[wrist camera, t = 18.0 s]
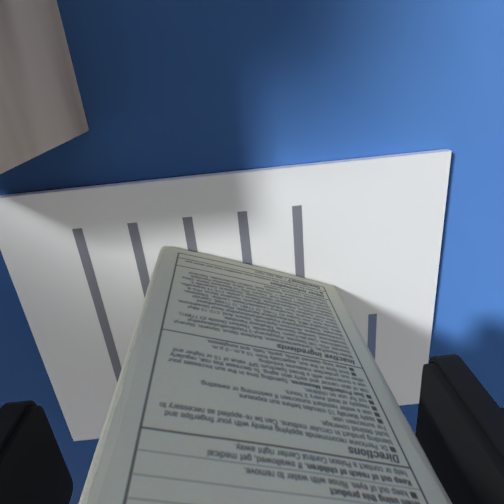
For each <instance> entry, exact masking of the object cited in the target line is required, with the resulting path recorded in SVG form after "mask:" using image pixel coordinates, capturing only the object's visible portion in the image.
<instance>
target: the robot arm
mask: <svg viewBox="0 0 504 504" xmlns="http://www.w3.org/2000/svg"><path fill="white" fill-rule="evenodd" d="M416 437H417V439H418V441H419V443H420V445H421V447H422V448H423V450H424V452H425V454H426V456H427V458H428V460H429V462H430V463H431V465H432V467H433V469H434V471H435V473H436V475H437V477H438V479H439V481H440V482H441V484H442V486H443V488H444V490H445V491H446V493H447V495H448V497H449V499H450V500H451V502H452V504H504V408H500V407H499V406H498V405H497V404H496V402H495V401H494V400H493V398H492V397H491V396H490V395H489V393H488V392H487V391H486V390H485V388H484V387H483V386H482V385H481V383H480V382H479V381H478V379H477V378H476V377H475V376H474V374H473V373H472V372H471V371H470V369H469V368H468V367H467V366H466V364H465V363H464V362H463V360H462V359H461V358H460V357H459V356H458V355H456V354H453V355H444V356H435V357H431V358H430V360H429V363H428V364H424V365H423V370H422V379H421V389H420V398H419V408H418V418H417V427H416ZM72 490H73V483H72V479H71V476H70V474H69V471H68V469H67V466H66V464H65V461H64V459H63V456H62V454H61V452H60V449H59V447H58V444H57V442H56V439H55V437H54V434H53V432H52V429H51V427H50V424H49V422H48V420H47V417H46V415H45V412H44V410H43V408H42V407H41V406H37V405H36V404H35V402H33V401H20V402H11V403H6V404H4V405H3V406H2V407H1V408H0V504H69V501H70V499H71V495H72Z"/></svg>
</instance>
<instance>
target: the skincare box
mask: <svg viewBox="0 0 504 504" xmlns="http://www.w3.org/2000/svg"><path fill="white" fill-rule="evenodd" d="M79 504H452V502H451V500H450V499H449V497H448V495H447V493H446V491H445V490H444V488H443V486H442V484H441V482H440V481H439V479H438V477H437V475H436V473H435V471H434V469H433V467H432V465H431V463H430V462H429V460H428V458H427V456H426V454H425V452H424V450H423V448H422V447H421V445H420V443H419V441H418V439H417V437H416V435H415V434H414V432H413V430H412V428H411V426H410V425H409V423H408V421H407V419H406V417H405V415H404V414H403V412H402V410H401V408H400V406H399V405H398V403H397V401H396V399H395V397H394V395H393V393H392V391H391V389H390V388H389V386H388V384H387V382H386V380H385V378H384V376H383V374H382V372H381V371H380V369H379V367H378V365H377V363H376V362H375V360H374V358H373V356H372V354H371V352H370V350H369V348H368V347H367V345H366V343H365V341H364V339H363V337H362V335H361V333H360V332H359V330H358V328H357V326H356V324H355V322H354V321H353V319H352V317H351V315H350V313H349V311H348V309H347V308H346V306H345V304H344V302H343V300H342V298H341V296H340V295H339V293H338V291H337V289H336V288H335V287H334V286H332V285H328V284H325V283H321V282H317V281H313V280H309V279H306V278H302V277H298V276H295V275H291V274H286V273H282V272H279V271H275V270H270V269H266V268H262V267H258V266H253V265H249V264H245V263H241V262H237V261H233V260H229V259H225V258H220V257H216V256H212V255H208V254H203V253H198V252H193V251H188V250H184V249H179V248H174V247H169V246H164V247H162V248H161V250H160V252H159V255H158V258H157V261H156V264H155V267H154V270H153V273H152V276H151V279H150V283H149V286H148V289H147V292H146V295H145V299H144V302H143V305H142V308H141V311H140V315H139V318H138V321H137V323H136V326H135V330H134V333H133V336H132V339H131V342H130V345H129V349H128V352H127V355H126V358H125V361H124V364H123V367H122V370H121V373H120V376H119V379H118V382H117V385H116V389H115V392H114V395H113V398H112V401H111V404H110V408H109V411H108V414H107V417H106V420H105V423H104V426H103V429H102V432H101V435H100V438H99V441H98V444H97V447H96V450H95V453H94V456H93V460H92V463H91V466H90V469H89V472H88V476H87V479H86V482H85V485H84V488H83V491H82V495H81V498H80V501H79Z"/></svg>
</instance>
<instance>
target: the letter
mask: <svg viewBox="0 0 504 504" xmlns="http://www.w3.org/2000/svg"><path fill="white" fill-rule="evenodd" d="M451 152H452V151H450V150H448V149H443V150H433V151H423V152H414V153H404V154H394V155H385V156H375V157H365V158H356V159H346V160H336V161H327V162H317V163H307V164H298V165H288V166H278V167H269V168H259V169H249V170H240V171H230V172H220V173H211V174H201V175H191V176H182V177H172V178H162V179H153V180H143V181H133V182H124V183H114V184H104V185H95V186H85V187H75V188H66V189H56V190H46V191H37V192H27V193H17V194H8V195H0V250H1V253H2V255H3V258H4V261H5V263H6V266H7V269H8V271H9V274H10V276H11V279H12V282H13V284H14V287H15V289H16V292H17V295H18V297H19V300H20V303H21V305H22V308H23V310H24V313H25V316H26V318H27V321H28V323H29V326H30V329H31V331H32V334H33V337H34V339H35V342H36V344H37V347H38V350H39V352H40V355H41V357H42V360H43V363H44V365H45V368H46V371H47V373H48V376H49V378H50V381H51V384H52V386H53V389H54V391H55V394H56V397H57V399H58V402H59V405H60V407H61V410H62V412H63V415H64V418H65V420H66V423H67V425H68V428H69V431H70V433H71V436H72V439H73V441H81V440H90V439H99V438H100V435H101V432H102V429H103V426H104V423H105V420H106V417H107V414H108V411H109V408H110V404H111V401H112V398H113V395H114V392H115V389H116V385H117V382H118V379H119V376H120V373H121V370H122V367H123V364H124V361H125V358H126V355H127V352H128V349H129V345H130V342H131V339H132V336H133V333H134V330H135V326H136V323H137V321H138V318H139V315H140V311H141V308H142V305H143V302H144V299H145V295H146V292H147V289H148V286H149V283H150V279H151V276H152V273H153V270H154V267H155V264H156V261H157V258H158V255H159V252H160V250H161V248H162V247H164V246H169V247H174V248H179V249H184V250H188V251H193V252H198V253H203V254H208V255H212V256H216V257H220V258H225V259H229V260H233V261H237V262H241V263H245V264H249V265H253V266H258V267H262V268H266V269H270V270H275V271H279V272H282V273H286V274H291V275H295V276H298V277H302V278H306V279H309V280H313V281H317V282H321V283H325V284H328V285H332V286H334V287H335V288H336V289H337V291H338V293H339V295H340V296H341V298H342V300H343V302H344V304H345V306H346V308H347V309H348V311H349V313H350V315H351V317H352V319H353V321H354V322H355V324H356V326H357V328H358V330H359V332H360V333H361V335H362V337H363V339H364V341H365V343H366V345H367V347H368V348H369V350H370V352H371V354H372V356H373V358H374V360H375V362H376V363H377V365H378V367H379V369H380V371H381V372H382V374H383V376H384V378H385V380H386V382H387V384H388V386H389V388H390V389H391V391H392V393H393V395H394V397H395V399H396V401H397V403H398V405H399V406H401V405H410V404H419V398H420V389H421V379H422V370H423V365H424V364H428V360H429V351H430V342H431V333H432V324H433V315H434V306H435V297H436V288H437V279H438V270H439V261H440V252H441V243H442V234H443V225H444V216H445V207H446V198H447V189H448V179H449V170H450V161H451Z"/></svg>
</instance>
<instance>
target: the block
mask: <svg viewBox="0 0 504 504" xmlns="http://www.w3.org/2000/svg"><path fill="white" fill-rule="evenodd" d="M87 131H89V128H88V124H87V120H86V116H85V112H84V108H83V104H82V100H81V96H80V92H79V88H78V84H77V80H76V76H75V72H74V68H73V64H72V60H71V56H70V52H69V48H68V44H67V40H66V36H65V32H64V28H63V24H62V20H61V16H60V12H59V8H58V4H57V0H0V174H2V173H4V172H6V171H8V170H10V169H12V168H14V167H16V166H18V165H20V164H22V163H24V162H26V161H28V160H30V159H32V158H35V157H37V156H39V155H41V154H43V153H45V152H47V151H49V150H51V149H53V148H55V147H57V146H59V145H61V144H63V143H65V142H67V141H69V140H71V139H73V138H75V137H77V136H79V135H81V134H83V133H85V132H87Z"/></svg>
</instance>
